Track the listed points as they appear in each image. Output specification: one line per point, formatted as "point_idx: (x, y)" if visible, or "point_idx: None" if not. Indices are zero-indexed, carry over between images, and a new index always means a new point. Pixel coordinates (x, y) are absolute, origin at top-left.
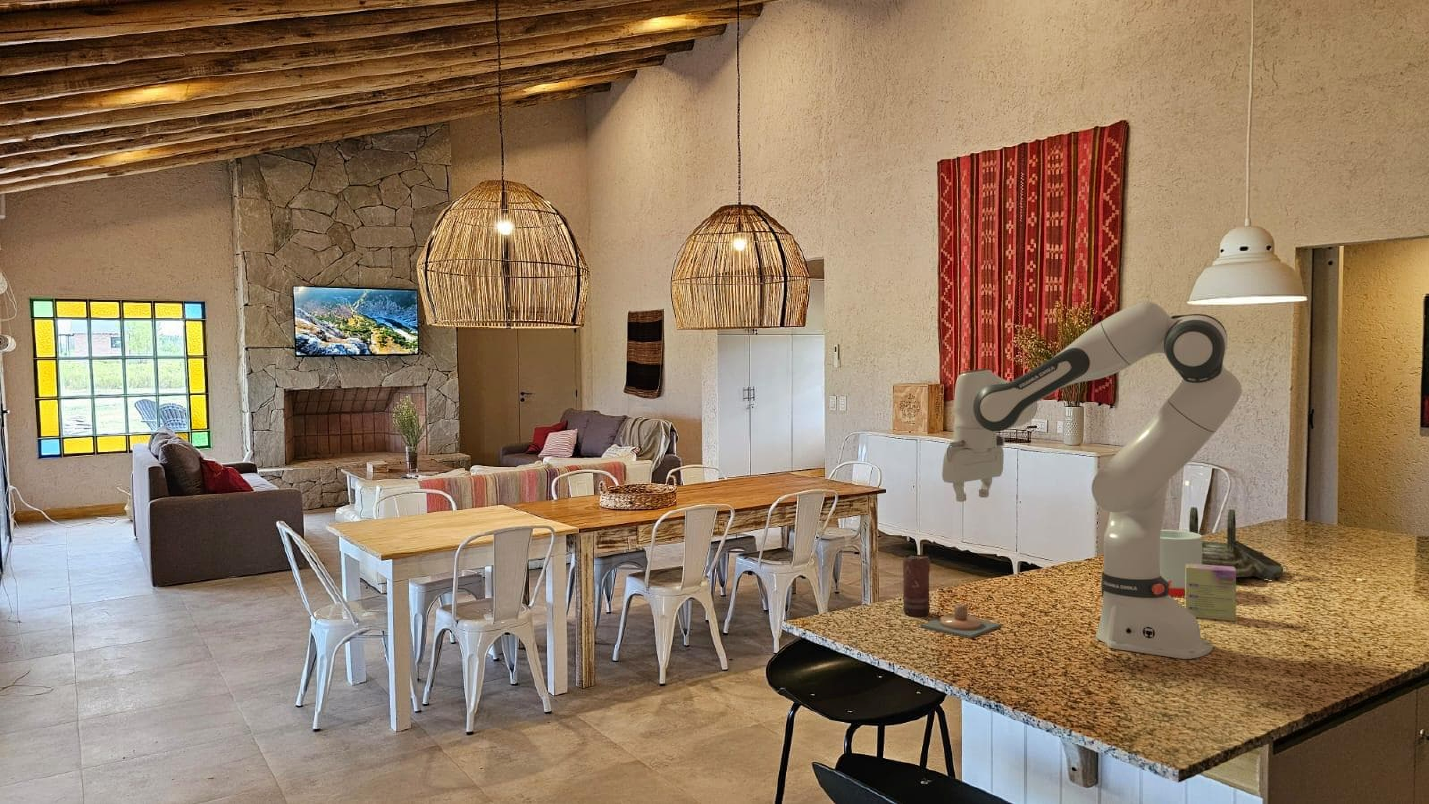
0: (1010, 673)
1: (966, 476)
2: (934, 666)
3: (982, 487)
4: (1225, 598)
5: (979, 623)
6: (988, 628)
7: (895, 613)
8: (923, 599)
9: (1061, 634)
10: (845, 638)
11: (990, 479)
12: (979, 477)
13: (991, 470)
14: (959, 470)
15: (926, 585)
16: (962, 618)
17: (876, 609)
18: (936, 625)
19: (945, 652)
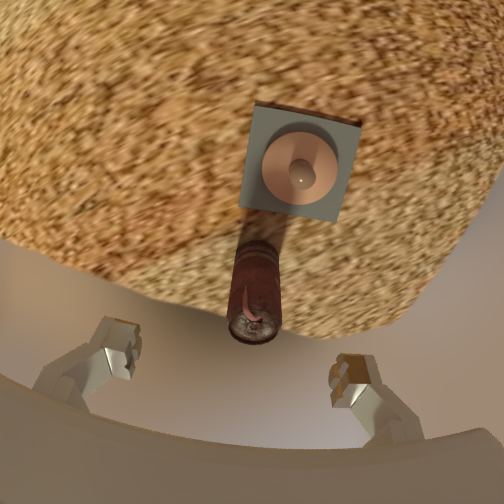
0: (481, 45)
1: (425, 470)
2: (493, 141)
3: (101, 377)
4: None
5: (303, 132)
6: (299, 115)
7: None
8: (268, 258)
9: (242, 3)
10: (423, 277)
11: (52, 389)
12: (240, 460)
13: (41, 448)
14: (491, 490)
15: (260, 270)
16: (310, 164)
17: None
18: (327, 199)
19: (443, 142)
